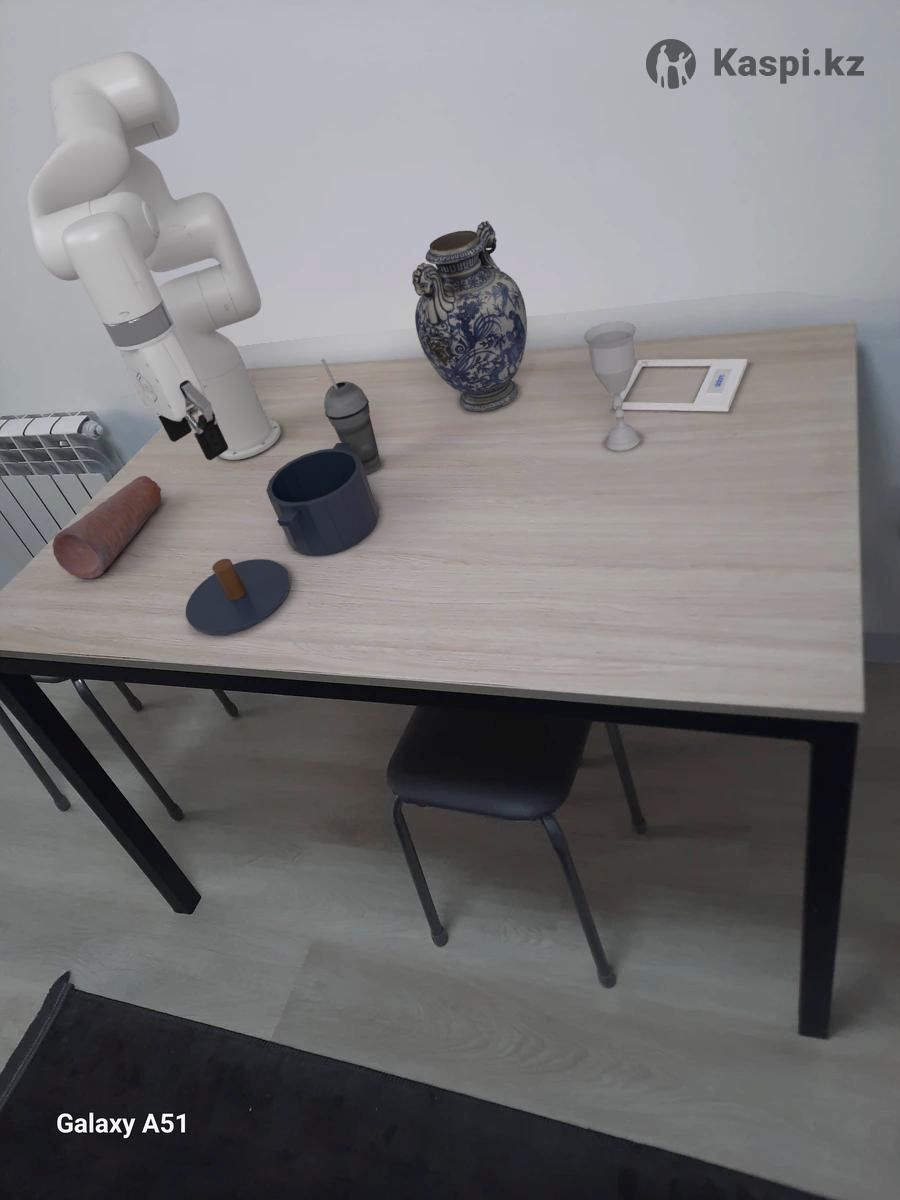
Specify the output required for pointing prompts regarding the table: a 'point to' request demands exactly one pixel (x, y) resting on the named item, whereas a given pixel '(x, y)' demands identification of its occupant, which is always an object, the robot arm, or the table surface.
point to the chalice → (614, 372)
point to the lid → (237, 595)
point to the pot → (324, 501)
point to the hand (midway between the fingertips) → (199, 445)
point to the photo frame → (712, 392)
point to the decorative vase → (471, 318)
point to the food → (106, 529)
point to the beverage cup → (352, 420)
